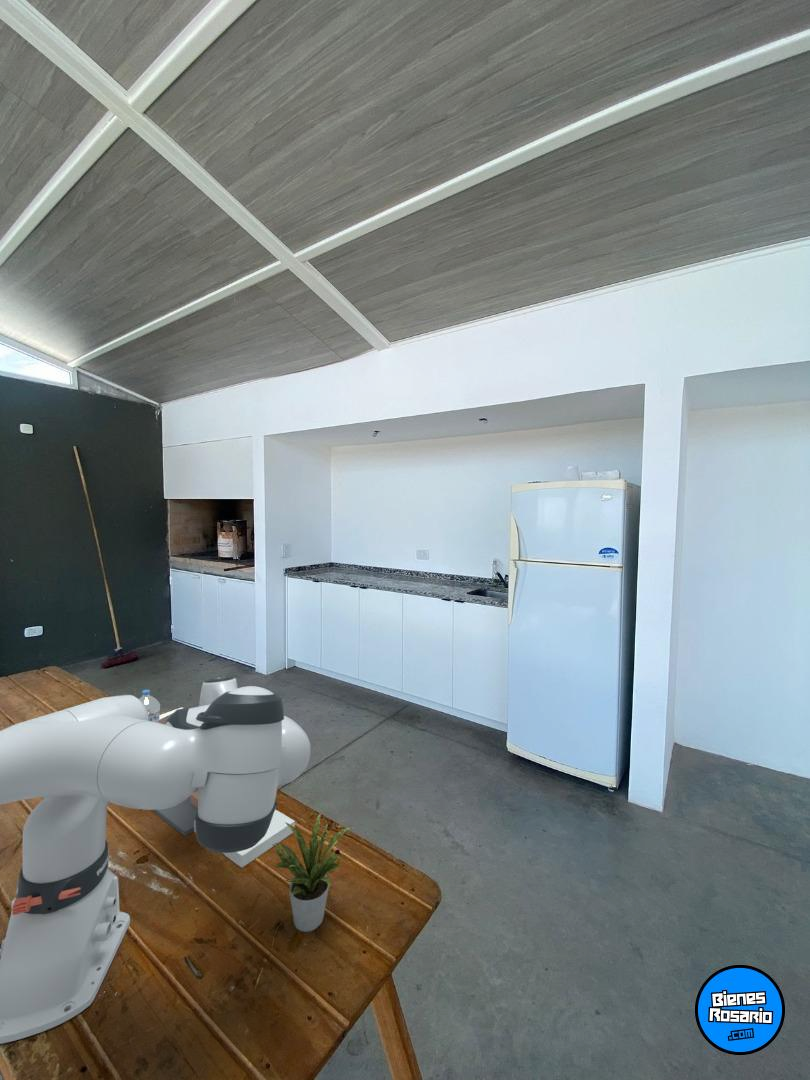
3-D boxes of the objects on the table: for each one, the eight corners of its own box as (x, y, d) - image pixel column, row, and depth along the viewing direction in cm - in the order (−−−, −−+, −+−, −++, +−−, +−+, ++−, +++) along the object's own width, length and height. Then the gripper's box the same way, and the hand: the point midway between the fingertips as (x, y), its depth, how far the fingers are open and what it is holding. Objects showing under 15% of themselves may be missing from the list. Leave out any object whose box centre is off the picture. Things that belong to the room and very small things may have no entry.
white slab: (294, 831, 104) (294, 820, 104) (241, 867, 93) (241, 856, 92) (246, 802, 114) (246, 792, 114) (193, 831, 103) (194, 821, 103)
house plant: (334, 873, 92) (336, 794, 91) (366, 924, 80) (368, 834, 80) (264, 902, 84) (266, 817, 84) (287, 964, 73) (290, 865, 72)
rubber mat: (252, 798, 116) (253, 794, 116) (184, 836, 101) (184, 831, 101) (218, 777, 125) (218, 774, 125) (150, 809, 110) (150, 805, 110)
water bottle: (154, 772, 127) (156, 684, 126) (162, 782, 122) (163, 691, 121) (126, 781, 122) (128, 690, 121) (133, 792, 117) (135, 697, 116)
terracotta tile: (233, 805, 111) (233, 796, 111) (210, 817, 107) (210, 808, 107) (212, 791, 117) (212, 783, 117) (190, 802, 112) (190, 794, 112)
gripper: (256, 750, 106) (254, 808, 106) (207, 726, 118) (206, 778, 118) (232, 761, 101) (231, 822, 101) (183, 735, 112) (182, 789, 113)
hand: (217, 798), depth 110 cm, fingers closed
